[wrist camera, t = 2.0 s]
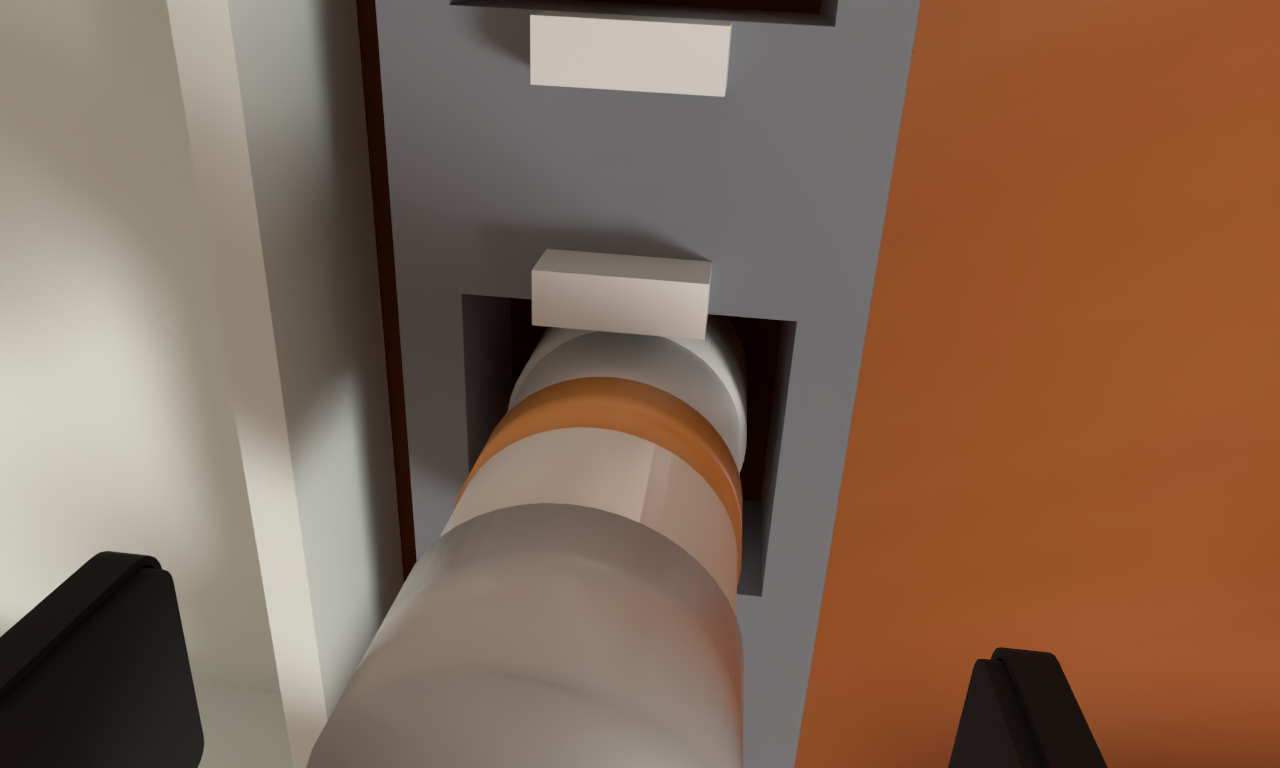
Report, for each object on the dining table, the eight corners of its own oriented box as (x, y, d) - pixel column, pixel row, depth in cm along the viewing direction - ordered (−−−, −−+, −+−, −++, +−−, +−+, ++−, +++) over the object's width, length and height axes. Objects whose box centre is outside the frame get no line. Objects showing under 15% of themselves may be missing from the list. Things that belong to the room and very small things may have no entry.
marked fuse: (537, 266, 16) (278, 637, 7) (757, 284, 16) (765, 693, 7) (537, 457, 18) (327, 945, 9) (737, 476, 18) (721, 1003, 9)
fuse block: (423, -497, 12) (283, -692, 8) (960, -492, 11) (1055, -698, 8) (480, 813, 23) (429, 973, 19) (758, 849, 22) (760, 1022, 19)
